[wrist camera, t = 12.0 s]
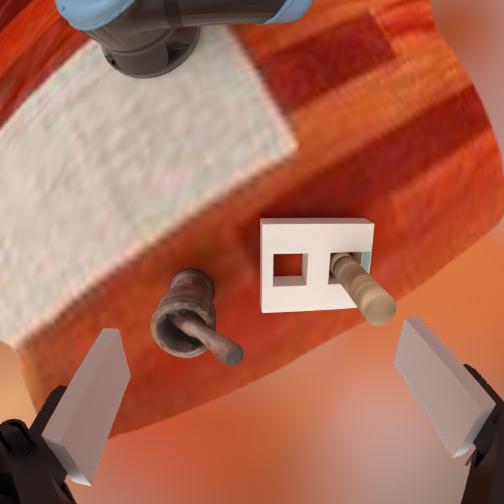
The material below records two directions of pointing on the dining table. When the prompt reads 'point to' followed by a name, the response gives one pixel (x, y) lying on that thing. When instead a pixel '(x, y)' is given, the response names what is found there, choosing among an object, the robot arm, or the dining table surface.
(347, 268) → the leg peg
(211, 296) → the mortar and pestle
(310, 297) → the board
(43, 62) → the dining table surface
